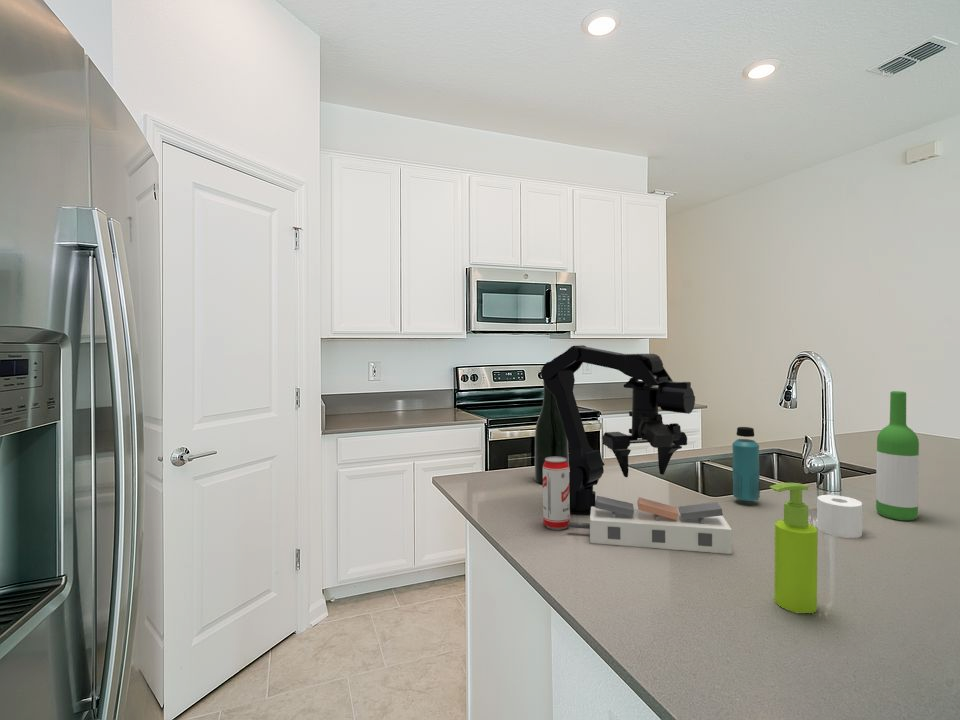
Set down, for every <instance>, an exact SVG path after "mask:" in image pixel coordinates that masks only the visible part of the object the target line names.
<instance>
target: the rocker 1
mask: <svg viewBox="0 0 960 720" xmlns="http://www.w3.org/2000/svg"><path fill="white" fill-rule="evenodd" d="M595 508H598V509H602V510H607V511H611V512H615V513H620V514H624V515H628V516H633V513H634V509H635V508H634V503H631V502H627V501H623V500H618V499H614V498H611V497H610V498H609V497H605V496H600V495H596V505H595Z"/></svg>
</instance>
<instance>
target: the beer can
mask: <svg viewBox="0 0 960 720" xmlns="http://www.w3.org/2000/svg"><path fill="white" fill-rule="evenodd" d="M569 472H570V469H569V465H568V463H567V459H566V458H564V457H557V456H553V457H547V458H545V462H544V464H543V484H542V515H543V516H542V517H543V519H542V520H543V521H542V522H543V524H544V525H545V526H546V527H547V528H548V530H549V529H550V530H555V531H560V530H562V531H563V530H565V529H567V528H569V527H568V522H571V513H570V491H569Z"/></svg>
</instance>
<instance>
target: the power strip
mask: <svg viewBox="0 0 960 720" xmlns="http://www.w3.org/2000/svg"><path fill="white" fill-rule="evenodd" d="M678 513H679V511H678ZM589 515H590V517H589V518H590V519H589V522H577V521H576V522H573V521H570V522H568V527H567V528H570V529H585V530H586V529H587V530H589V543H590V544H598V545H612V546H624V547H635V548H636V547H637V548H638V547H639V548H646V549H647V548H649V549H663V550H675V551H689V552H697V553H698V552H701V553H710V554H711V553H713V554H714V553H715V554H726V555H732V552H733V548H732V546H733V544H732V543H733V542H732V540H733V539H732V536H733V535H732V534H733V533H732V532H733V531H732V528H731V526H730V525H729V523H728V522H727V520H726V519H725V518H724V515H723V516H714V517H705V518H696V519H688V520H682V518H681V515H680V513H679V515H678V519H677V520H675V519H671V518H667V517H663V516H660V515H656V514H652V513H649V512H645V511H641V510H638V508H634V513H633V516H628V515H624V514H620V513H615V512H611V511H607V510H602V509H598V508H595V507H591V514H589Z"/></svg>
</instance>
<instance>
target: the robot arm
mask: <svg viewBox="0 0 960 720" xmlns="http://www.w3.org/2000/svg"><path fill="white" fill-rule="evenodd" d="M583 363H584V364H590V365H596V366H599V367H604V368H607V369H608V368H609V369H613V370H617V371H619V372H621V373H622V374H624V375H625V376H628V377H629V380H628V381H627V382H626V383H624V384H623V388H625V389H632V392H631V393H632V394H631V395H632V397H631V398H632V399H631V400H632V401H631V402H632V403H631V405H632V407H631V411H628V412H629V413H628V416H629V417H631V428H628V433H629V434H630V435H629V434H628V435H627V434H625V433H624V432H623V433H622V432H620V431H611V432H610V431H609V432H608V431H606V432H604V434H603V436H602V437H601V444H602V445H603V446H606V447H607V449H610V450H611V451H612V453H613V454H614V456H615V458H616V460H617V462H618V465H619V467H620V470H621V472H622V475H623V477H624V478H628V477H629V455H630V454H631V451H632V450H631V449H629V447H630V446H631V444H644V443H647V444H648V443H649V445H650V446H651V447H652V448H655V449H657V460H658V471H659V475H665V472H666V471H667V467H668V465H669V463H670V460H671V458H672V456H673V455H674V453H675V452H677V451H678V450H682V448H683V446H687V445H688V436H687V434H686V433H685V432H684V431H682V430H681V429H682V428H681V425H680V424H679V423H677V422H676V423H674V422H673V423H669V424H667V423H666V424H665V423H664V422H663V415H662V414H661V413H659V408H660V409H661V411H663V412H672V413H679V414H688V415H689V414H691V413H692V412H693V410H694V408H695V404H696V396H695V392H694V390H693V388H692V386H691V384H692V383H691V382H690V381H673V379H672V378H671V376H670V375H669V373H668V371H667V370H666V369H665V367H664V363H663V360H662V359H661V357H660V356H659V355H658V354H656V353H621V352H616V351H610V350H606V349H605V350H604V349H599V348H594V347H590V346H589V347H588V346H586V345H582V344H580V345H579V344H578V345H572V346H570V347H569V348H568V349H567V350H565V351H564V352H562V353H561V354H559V355H558V356H556V357H554V358H553V359H552V360H550V361H548V362H546V363H544V364H543V366H542V367H541V370H540V375H541V379H542V380H543V381H542V382H544V383H545V385H546V387H547V389H548V390H549V391H550V392H551V393H552V394H553V395H554V397H555V399H556V403H557V406H558V409H559V413H560V416H561V420H562V423H563V426H564V430H565V433H566V436H567V440H568V448H569V449H570V450H569V451H570V452H569V455H568V457H569V491H570V514H578V515H590V514H591V507H595V505H596V497H597V494H596V491H595V490H594V486H597V485H598V483H599V480H600V479H601V478H602V476H603V474H604V466H605V462H604V461H603V459H602V455H601V454H602V453H601V451H600V450H599V449H596V450H594V449H593V448H592V447H591V445H590V443H589V439H588V438H587V433H586V431H585V428H584V427H585V426H584V423H583V421H582V418H581V414H580V411H579V408H578V404H577V400H576V397H575V394H574V386H575V381H576V380H575V375H574V374H575V372H577V371H578V370H579V369H580V368H581V366H582V365H583Z"/></svg>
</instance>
